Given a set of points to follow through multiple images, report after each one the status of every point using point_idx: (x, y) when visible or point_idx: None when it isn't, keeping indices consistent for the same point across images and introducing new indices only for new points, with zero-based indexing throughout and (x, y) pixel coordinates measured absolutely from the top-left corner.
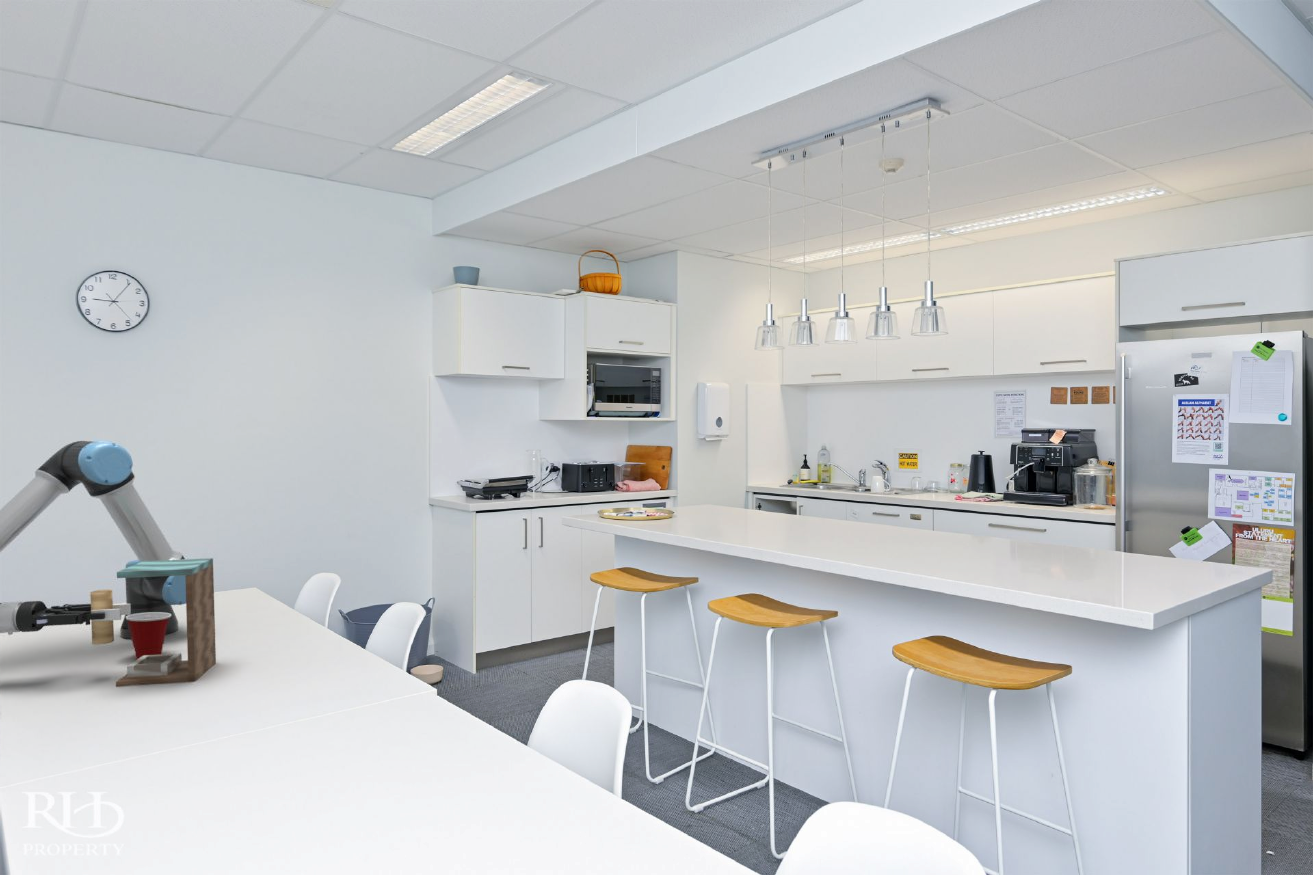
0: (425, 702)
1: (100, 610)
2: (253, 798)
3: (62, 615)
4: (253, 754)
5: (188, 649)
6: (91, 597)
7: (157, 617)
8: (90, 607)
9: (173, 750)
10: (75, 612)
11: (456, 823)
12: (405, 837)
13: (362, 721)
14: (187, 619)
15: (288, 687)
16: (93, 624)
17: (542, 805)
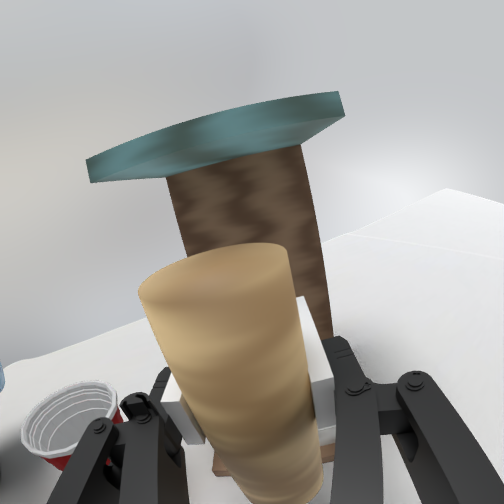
0: (364, 228)
1: (320, 344)
2: (495, 220)
3: (487, 457)
4: (468, 235)
5: (329, 302)
6: (280, 310)
7: (46, 418)
8: (160, 465)
9: (495, 256)
10: (378, 453)
11: (463, 200)
12: (478, 201)
13: (403, 230)
14: (320, 243)
15: (347, 274)
16: (313, 444)
17: (442, 197)
